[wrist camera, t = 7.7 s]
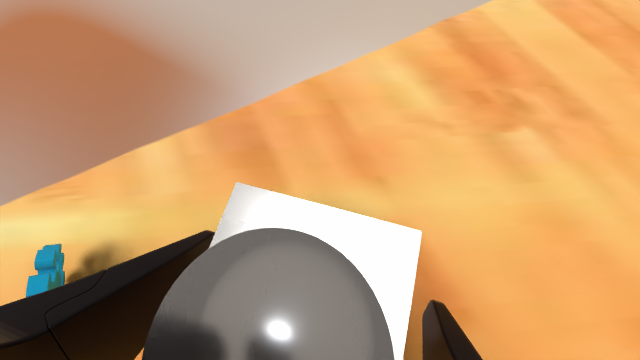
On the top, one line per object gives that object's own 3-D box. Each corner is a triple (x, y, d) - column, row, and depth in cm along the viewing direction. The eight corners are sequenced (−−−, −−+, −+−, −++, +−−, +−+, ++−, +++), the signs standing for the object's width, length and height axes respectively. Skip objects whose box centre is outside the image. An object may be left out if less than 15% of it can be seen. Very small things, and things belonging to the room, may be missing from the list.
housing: (350, 358, 15) (390, 782, 3) (264, 326, 16) (20, 534, 4) (373, 249, 17) (453, 219, 5) (296, 227, 18) (203, 156, 6)
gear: (44, 249, 21) (11, 242, 14) (130, 239, 25) (139, 230, 18) (31, 392, 18) (-17, 473, 11) (128, 356, 22) (137, 400, 15)
